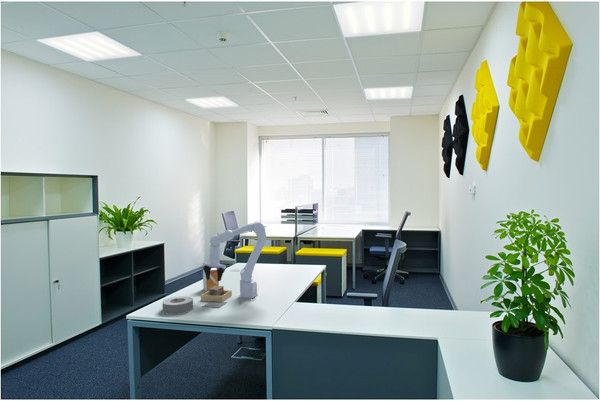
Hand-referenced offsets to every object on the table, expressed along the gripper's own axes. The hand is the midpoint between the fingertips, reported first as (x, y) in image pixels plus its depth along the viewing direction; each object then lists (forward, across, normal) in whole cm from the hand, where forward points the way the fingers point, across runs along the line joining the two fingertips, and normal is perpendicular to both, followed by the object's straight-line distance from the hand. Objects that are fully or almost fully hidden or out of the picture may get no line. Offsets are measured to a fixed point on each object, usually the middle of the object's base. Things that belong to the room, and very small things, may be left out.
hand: (213, 280), depth 218 cm
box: (+10, +2, +1) cm, 10 cm away
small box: (+11, -13, +17) cm, 24 cm away
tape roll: (+12, -6, -23) cm, 26 cm away
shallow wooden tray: (+11, +2, +1) cm, 11 cm away
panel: (+11, +9, -11) cm, 17 cm away
